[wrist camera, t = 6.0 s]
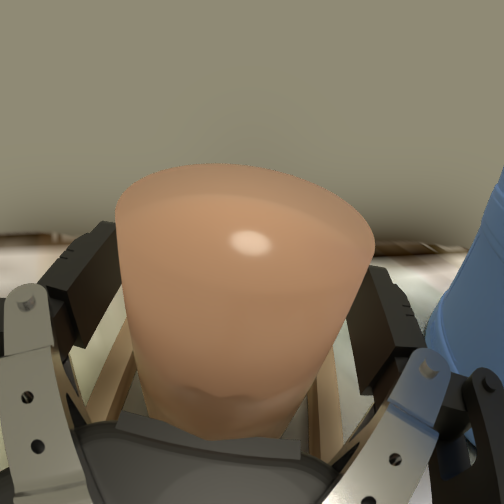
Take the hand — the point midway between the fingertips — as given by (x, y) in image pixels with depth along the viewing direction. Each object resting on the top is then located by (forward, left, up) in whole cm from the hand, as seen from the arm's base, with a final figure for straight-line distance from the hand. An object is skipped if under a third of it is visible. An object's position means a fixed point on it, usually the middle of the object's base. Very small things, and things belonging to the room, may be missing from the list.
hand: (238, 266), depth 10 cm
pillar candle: (0, +1, -7) cm, 7 cm away
